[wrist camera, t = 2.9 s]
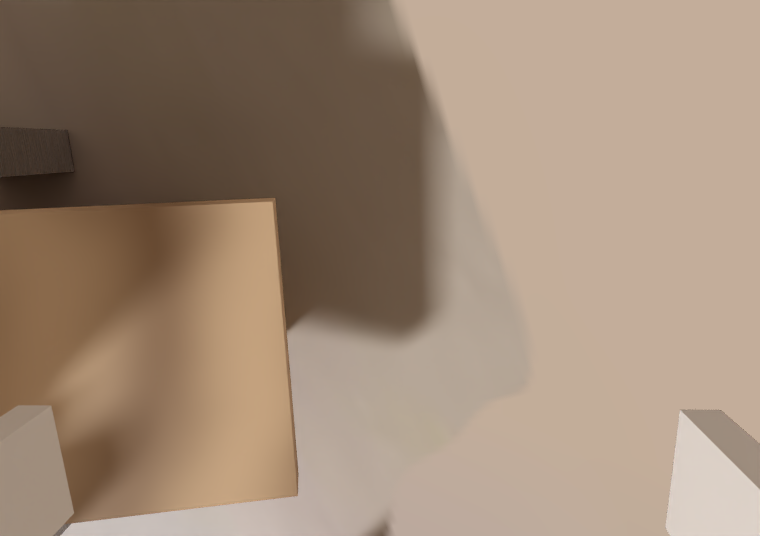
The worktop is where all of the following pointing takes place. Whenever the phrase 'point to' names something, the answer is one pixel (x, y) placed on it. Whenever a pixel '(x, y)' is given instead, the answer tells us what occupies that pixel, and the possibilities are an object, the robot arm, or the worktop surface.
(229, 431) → the tan piece
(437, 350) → the worktop surface
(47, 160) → the fulcrum
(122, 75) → the worktop surface
